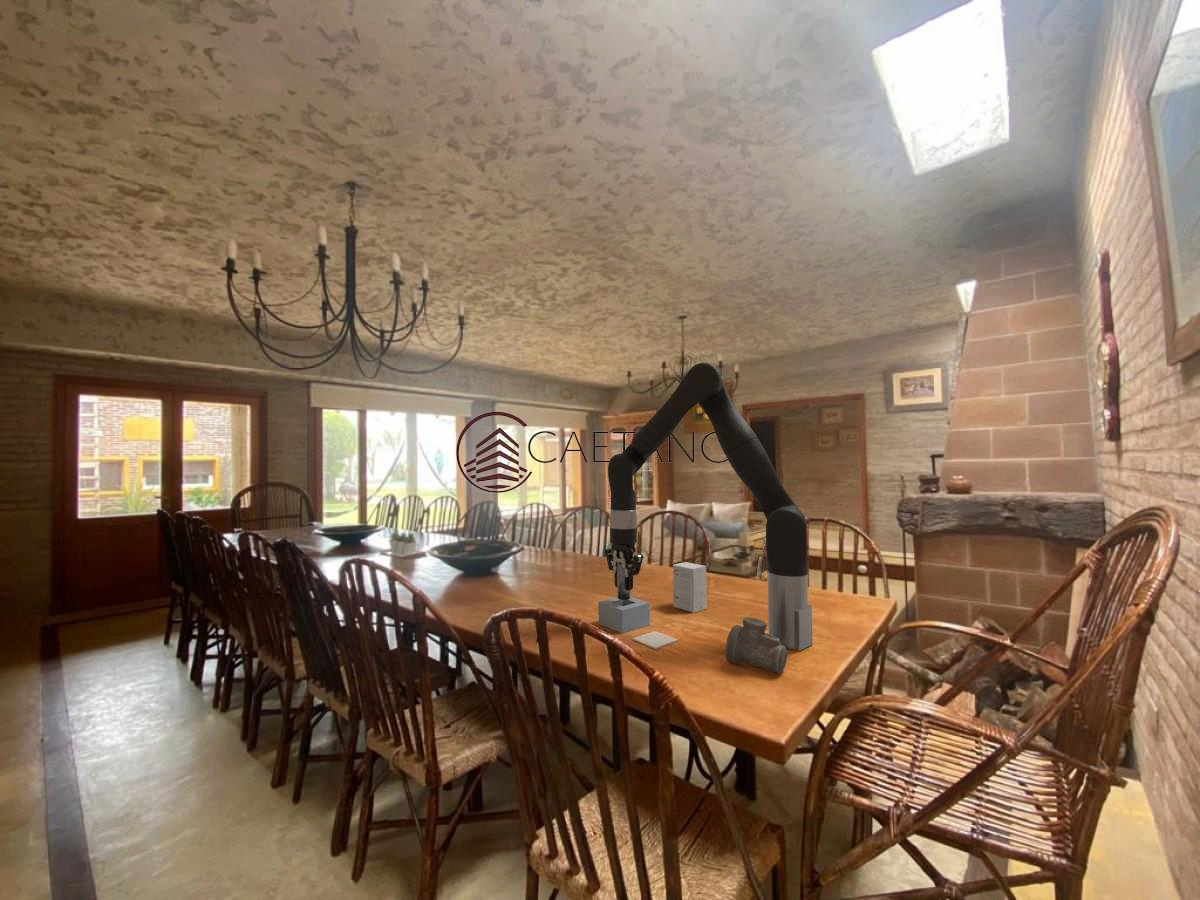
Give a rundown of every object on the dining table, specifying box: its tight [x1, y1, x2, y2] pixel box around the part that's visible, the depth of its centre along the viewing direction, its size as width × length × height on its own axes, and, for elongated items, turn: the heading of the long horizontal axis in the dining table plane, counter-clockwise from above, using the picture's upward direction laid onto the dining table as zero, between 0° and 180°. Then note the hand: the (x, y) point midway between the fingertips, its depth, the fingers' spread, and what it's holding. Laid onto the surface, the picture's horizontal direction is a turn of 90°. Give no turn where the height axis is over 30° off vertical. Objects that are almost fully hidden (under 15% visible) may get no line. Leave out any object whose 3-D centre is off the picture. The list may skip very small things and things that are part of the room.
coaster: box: [632, 630, 679, 650], centre depth 121 cm, size 8×8×1 cm
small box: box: [672, 561, 708, 614], centre depth 148 cm, size 8×6×13 cm
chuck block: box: [597, 596, 651, 634], centre depth 134 cm, size 10×10×6 cm
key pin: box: [616, 558, 631, 600], centre depth 134 cm, size 4×4×11 cm
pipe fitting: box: [724, 616, 788, 675], centre depth 106 cm, size 12×8×10 cm
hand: (623, 588), depth 134 cm, fingers closed on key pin, 3 cm apart
